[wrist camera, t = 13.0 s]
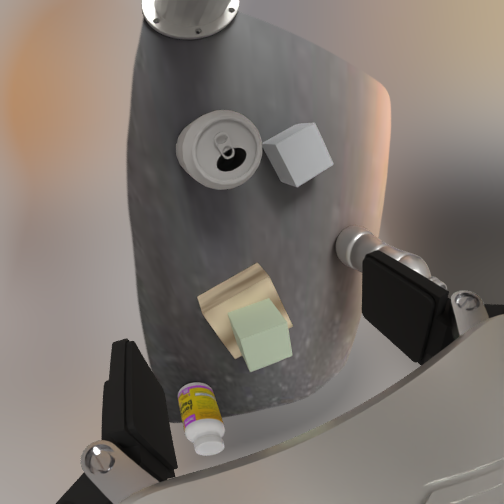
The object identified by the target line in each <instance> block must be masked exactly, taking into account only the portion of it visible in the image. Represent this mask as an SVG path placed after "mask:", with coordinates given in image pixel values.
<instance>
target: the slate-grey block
mask: <svg viewBox="0 0 504 504" xmlns="http://www.w3.org/2000/svg"><path fill="white" fill-rule="evenodd" d="M262 147H263V149H264V151H265V153H266V155H267V157H268V158H269V160H270V162H271V164H272V166H273V168H274V170H275V171H276V173H277V175H278V177H279V179H280V181H281V182H283V183H286V184H288V185H291V186H294V187H299V186H300V185H302V184H303V183H305V182H307V181H308V180H310V179H311V178H313V177H314V176H316V175H318V174H319V173H321V172H322V171H324V170H325V169H327V168H329V167H330V166H332V165H333V162H332V159H331V157H330V155H329V153H328V150H327V148H326V146H325V144H324V141H323V139H322V137H321V135H320V133H319V130H318V128H317V126H316V124H315V123H302V124H295V125H294V126H292V127H290V128H288V129H286V130H284V131H283V132H281V133H279V134H277V135H276V136H274V137H272V138H270V139H268V140H267V141H265V142H263V143H262Z"/></svg>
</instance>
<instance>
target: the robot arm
mask: <svg viewBox="0 0 504 504" xmlns="http://www.w3.org/2000/svg"><path fill="white" fill-rule="evenodd" d="M238 8H239V0H142V13H143V16H144V18H145V20H146V21H147V23H148V24H149V25H150V26H151V27H152V28H153V29H154V30H156V31H157V32H159V33H161V34H163V35H165V36H168V37H171V38H177V39H199V38H204V37H207V36H211V35H213V34H215V33H217V32H219V31H221V30H222V29H224V28H225V27H226V26H227V25H228V24H229V23H230V22H231V21H232V20H233V18H234V17H235V15H236V13H237V12H238ZM230 12H231V13H230ZM156 22H158V24H155V23H156ZM196 32H198V33H199V34H196ZM448 293H449V291H447V290H446V289H444V288H442V287H441V286H439V285H438V284H436V283H434V282H433V281H431V280H429V279H428V278H426V277H424V276H423V275H421V274H419V273H418V272H416V271H414V270H413V269H411V268H409V267H408V266H406V265H404V264H402V263H401V262H399V261H397V260H396V259H394V258H392V257H390V256H389V255H387V254H385V253H383V252H381V251H380V250H375V251H373V252H371V253H368V254H366V255H365V258H364V259H363V261H362V314H363V316H364V317H365V319H367V320H368V321H369V322H370V323H371V324H372V325H373V326H374V327H376V328H377V329H378V330H379V331H380V332H381V333H382V334H383V335H384V336H386V337H387V338H388V339H389V340H390V341H391V342H392V343H393V344H395V345H396V346H397V347H398V348H399V349H400V350H401V351H402V352H403V353H405V354H406V355H407V356H408V357H409V358H410V359H411V360H412V361H413V362H418V363H419V364H420V365H421V366H420V367H419V368H417V369H416V370H415V371H413V372H412V373H410V374H409V375H407V376H406V377H404V378H403V379H401V380H400V381H398V382H397V383H395V384H394V385H392V386H391V387H389V388H387V389H386V390H384V391H383V392H381V393H379V394H378V395H376V396H374V397H373V398H371V399H369V400H368V401H366V402H364V403H363V404H361V405H359V406H357V407H355V408H354V409H352V410H350V411H348V412H346V413H344V414H343V415H341V416H339V417H337V418H335V419H333V420H331V421H329V422H327V423H325V424H323V425H321V426H319V427H316V428H314V429H312V430H310V431H308V432H306V433H304V434H301V435H299V436H297V437H294V438H292V439H290V440H287V441H285V442H283V443H280V444H278V445H275V446H273V447H270V448H267V449H265V450H262V451H259V452H257V453H254V454H251V455H248V456H245V457H242V458H239V459H237V460H233V461H230V462H227V463H224V464H221V465H218V466H215V467H211V468H208V469H204V470H200V471H196V472H193V473H189V474H186V475H182V476H179V477H175V473H174V469H177V468H178V466H177V461H176V456H175V451H174V446H173V441H172V436H171V430H170V424H169V418H168V412H167V406H166V399H165V394H164V391H163V389H162V387H161V385H160V384H159V382H158V380H157V379H156V377H155V376H154V374H153V372H152V371H151V369H150V367H149V366H148V364H147V362H146V361H145V360H144V358H143V356H142V354H141V352H140V350H139V349H138V347H137V345H136V343H135V342H134V341H129V340H128V339H123V340H120V341H116V342H113V344H112V352H111V362H110V374H109V380H108V381H106V382H105V384H104V391H103V408H102V440H99V441H96V442H93V443H91V444H90V445H88V446H87V448H86V449H85V450H84V451H83V454H82V456H81V466H82V469H83V471H84V473H83V474H82V475H81V477H80V478H79V479H78V480H77V481H76V482H75V483H74V484H73V485H72V486H71V487H70V489H69V490H68V491H67V492H66V493H65V494H64V495H63V496H62V497H61V498H60V500H59V501H58V502H57V503H56V504H504V305H490V304H484V303H483V301H482V300H481V298H480V297H479V296H478V295H477V294H475V293H473V292H470V291H458V292H455V293H454V294H453V295H452V297H451V299H449V298H448ZM173 477H175V478H173ZM168 478H171V479H168ZM167 479H168V480H167Z"/></svg>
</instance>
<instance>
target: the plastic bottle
mask: <svg viewBox="0 0 504 504" xmlns="http://www.w3.org/2000/svg"><path fill="white" fill-rule="evenodd" d="M375 250H380V251H381V252H383V253H385V254H387V255H389V256H390V257H392V258H394V259H396V260H397V261H399V262H401V263H402V264H404V265H406V266H408V267H409V268H411V269H413V270H414V271H416V272H418V273H419V274H421V275H423V276H424V277H426V278H428V279H429V280H431V281H433V282H434V283H436V284H438V285H439V286H441V287H442V288H444V289H446V290H447V286H446V284H445V283H443V282H441V281H439V279H437V278H436V277H431V274H430V271H429V268H428V266H427V264H426V263H425V261H424V260H423V259H422V258H421V257H419V256H417V255H415V254H412V253H408V252H405V251H402V250H399V249H397V248H395V247H393V246H390V245H388V244H386V243H384V242H383V241H381V240H380V239H379V238H377V237H376V236H374V235H373V234H372V233H371V232H370V231H369V230H367V229H366V228H364V227H361V226H356V225H352V226H349V227H347V228H345V229H344V230H343V231H342V232H341V233H340V234H339V236H338V238H337V241H336V253H337V256H338V258H339V259H340V260H341V261H342V262H343V264H345V265H346V266H348V267H350V268H353V269H356V270H358V271H360V272H362V261H363V259H364V258H365V255H366V254H368V253H371V252H373V251H375Z"/></svg>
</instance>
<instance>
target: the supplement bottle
mask: <svg viewBox="0 0 504 504" xmlns="http://www.w3.org/2000/svg"><path fill="white" fill-rule="evenodd" d="M178 402H179V407H180V412H181V417H182V422H183V427H184V432H185V435H186V437H187V439H188V440H189V441H191V442H193V443H194V448H195V451H196V453H197V454H199V455H205V456H208V455H214V454H217V453H219V452H221V451H222V450H223V449H224V443H223V440H222V439H221V437H222V436H223V435H224V433H225V427H224V424H223V421H222V418H221V415H220V412H219V409H218V405H217V402H216V399H215V396H214V393H213V390H212V388H211V387H210V386H208V385H207V384H204V383H200V382H194V383H189V384H187V385H185V386H183V387H182V388H181V389H180V390H179V392H178Z"/></svg>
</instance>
